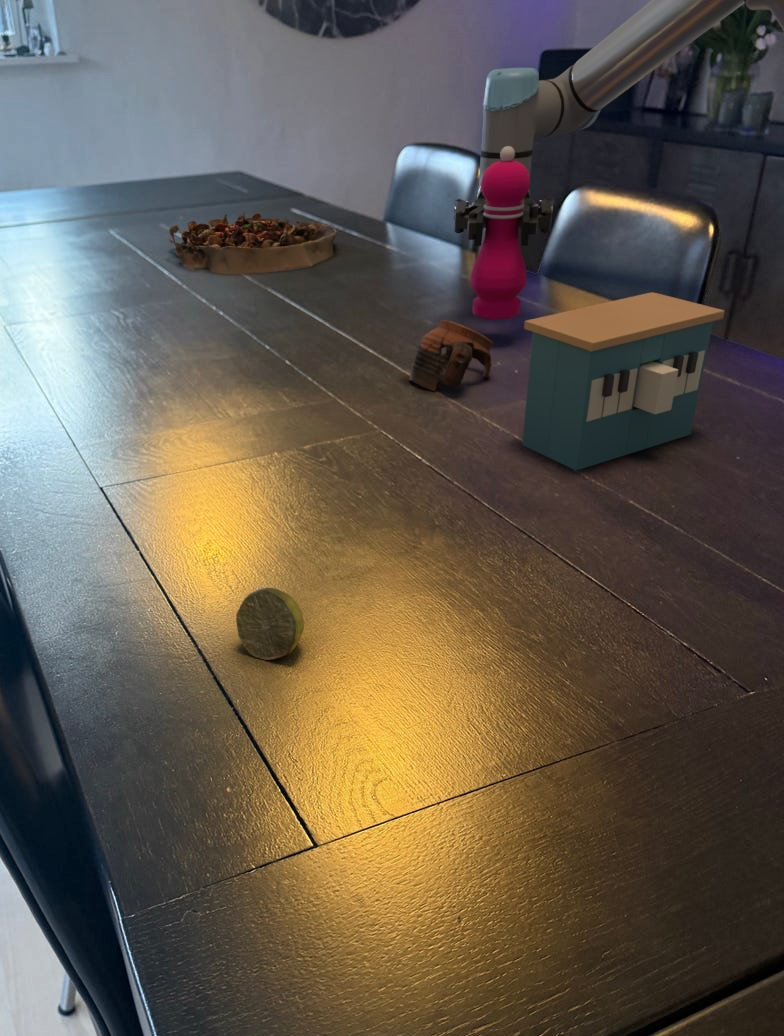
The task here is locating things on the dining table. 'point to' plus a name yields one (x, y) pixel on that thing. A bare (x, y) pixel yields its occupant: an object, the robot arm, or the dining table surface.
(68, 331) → the dining table surface
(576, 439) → the toy piano
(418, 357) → the rusty brown helmet
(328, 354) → the dining table surface
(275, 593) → the lime
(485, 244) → the pepper mill
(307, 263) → the food dish
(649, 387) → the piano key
